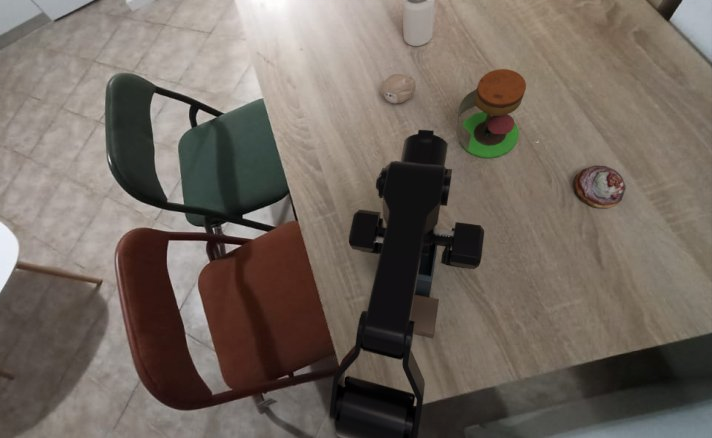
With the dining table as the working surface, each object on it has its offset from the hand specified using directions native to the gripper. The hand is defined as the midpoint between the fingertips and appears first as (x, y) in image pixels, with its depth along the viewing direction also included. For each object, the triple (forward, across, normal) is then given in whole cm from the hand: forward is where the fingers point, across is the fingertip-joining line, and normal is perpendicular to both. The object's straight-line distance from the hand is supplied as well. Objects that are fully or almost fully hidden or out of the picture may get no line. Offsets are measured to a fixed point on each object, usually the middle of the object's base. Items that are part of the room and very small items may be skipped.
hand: (413, 255), depth 73 cm
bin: (+8, 0, +5) cm, 10 cm away
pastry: (+9, -28, -20) cm, 36 cm away
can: (+9, +7, -56) cm, 57 cm away
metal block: (+8, 0, +8) cm, 12 cm away
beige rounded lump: (+9, +9, -38) cm, 40 cm away
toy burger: (+9, -10, -30) cm, 33 cm away
